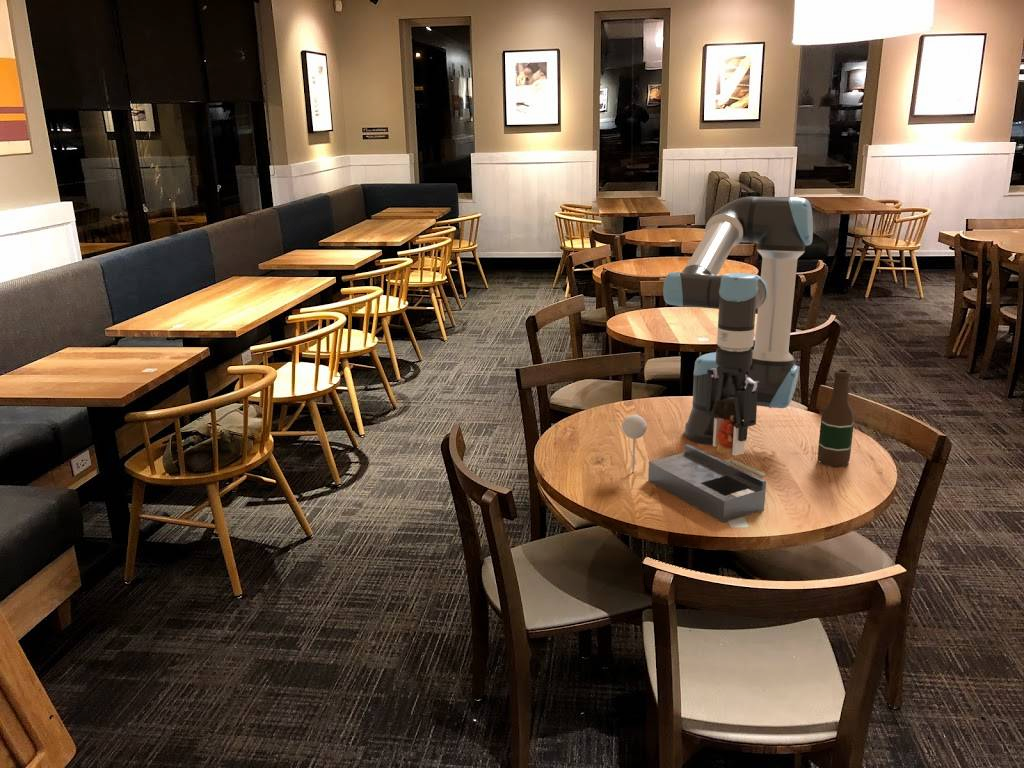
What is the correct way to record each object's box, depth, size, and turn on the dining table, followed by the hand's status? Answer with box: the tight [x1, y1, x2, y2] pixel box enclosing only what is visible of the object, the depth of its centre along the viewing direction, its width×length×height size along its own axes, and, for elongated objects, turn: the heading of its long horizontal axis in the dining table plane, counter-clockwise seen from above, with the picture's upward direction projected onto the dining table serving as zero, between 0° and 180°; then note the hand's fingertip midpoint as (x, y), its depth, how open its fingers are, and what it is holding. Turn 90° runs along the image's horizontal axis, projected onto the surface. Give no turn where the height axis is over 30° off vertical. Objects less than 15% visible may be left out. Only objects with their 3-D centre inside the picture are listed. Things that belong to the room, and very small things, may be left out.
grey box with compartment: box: [647, 443, 767, 523], centre depth 188 cm, size 26×12×7 cm, turn 29°
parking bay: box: [724, 458, 766, 478], centre depth 201 cm, size 12×12×1 cm
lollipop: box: [621, 414, 648, 473], centre depth 201 cm, size 6×6×15 cm
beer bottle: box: [817, 369, 855, 468], centre depth 203 cm, size 8×8×24 cm
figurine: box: [713, 397, 737, 455], centre depth 178 cm, size 6×6×12 cm
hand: (728, 449), depth 179 cm, fingers closed on figurine, 5 cm apart
